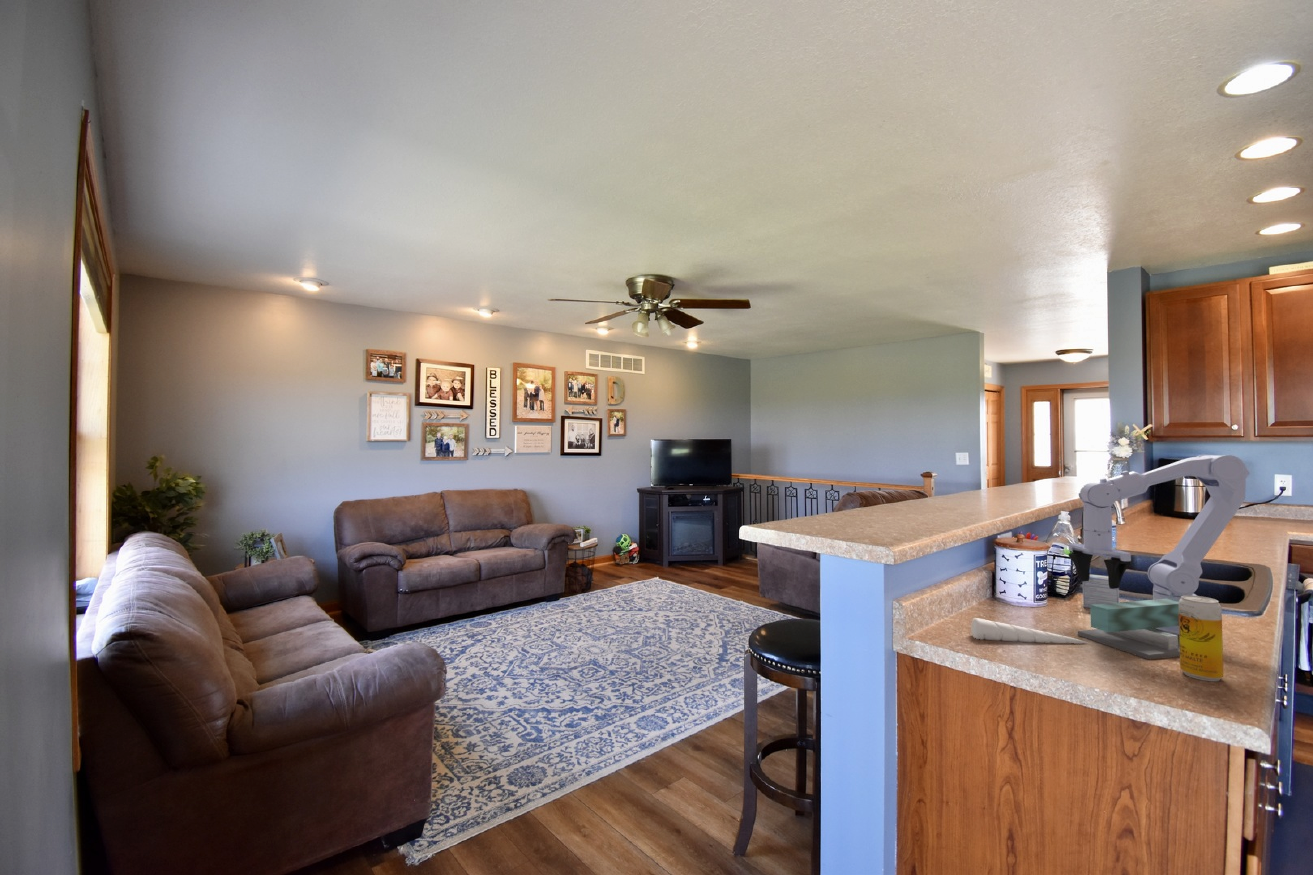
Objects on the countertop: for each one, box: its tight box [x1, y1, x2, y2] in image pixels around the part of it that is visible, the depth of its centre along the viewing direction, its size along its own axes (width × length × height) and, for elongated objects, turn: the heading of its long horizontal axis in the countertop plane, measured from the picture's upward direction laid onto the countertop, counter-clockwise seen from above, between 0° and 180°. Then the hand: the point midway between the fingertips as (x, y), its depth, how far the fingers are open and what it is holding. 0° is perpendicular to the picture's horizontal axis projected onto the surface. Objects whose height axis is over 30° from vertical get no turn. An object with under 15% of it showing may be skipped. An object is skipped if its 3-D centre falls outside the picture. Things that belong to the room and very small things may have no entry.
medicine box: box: [1082, 574, 1120, 609], centre depth 157 cm, size 8×4×9 cm, turn 52°
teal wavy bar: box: [1089, 599, 1179, 632], centre depth 128 cm, size 22×4×5 cm, turn 102°
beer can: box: [1178, 595, 1224, 682], centre depth 110 cm, size 6×6×15 cm
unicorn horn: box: [970, 617, 1087, 645], centre depth 131 cm, size 5×24×5 cm, turn 75°
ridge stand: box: [1077, 628, 1180, 660], centre depth 128 cm, size 16×16×4 cm
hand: (1098, 584), depth 143 cm, fingers open, 7 cm apart
